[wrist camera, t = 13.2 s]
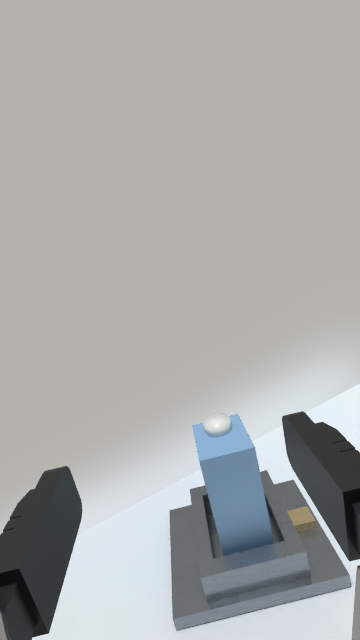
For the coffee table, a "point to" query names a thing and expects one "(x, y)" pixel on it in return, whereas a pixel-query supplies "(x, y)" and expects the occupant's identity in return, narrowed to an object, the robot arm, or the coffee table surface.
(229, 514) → the blue tall box
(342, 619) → the coffee table surface
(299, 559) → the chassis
